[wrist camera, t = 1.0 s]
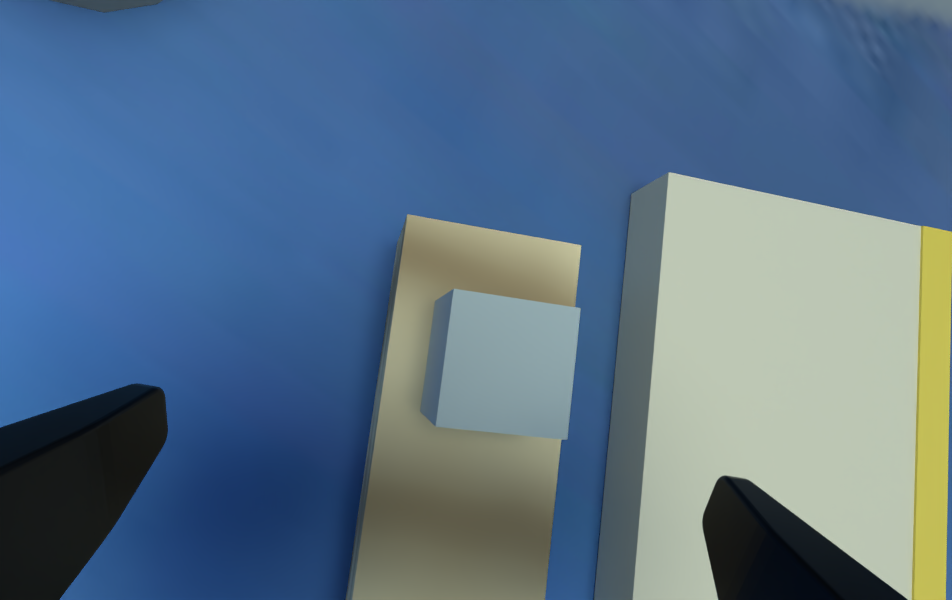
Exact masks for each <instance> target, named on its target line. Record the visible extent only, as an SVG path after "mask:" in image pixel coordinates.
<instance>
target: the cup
mask: <svg viewBox="0 0 952 600" xmlns="http://www.w3.org/2000/svg"><path fill="white" fill-rule="evenodd" d="M51 1H56V2H60V3H65V4H69V5H73V6H78V7H82V8H87V9H91V10H95V11H100V12H110V11H117V10H123V9H129V8H135V7H142V6H148V5H154V4H158V3H159V2H161V1H162V0H51Z"/></svg>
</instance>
